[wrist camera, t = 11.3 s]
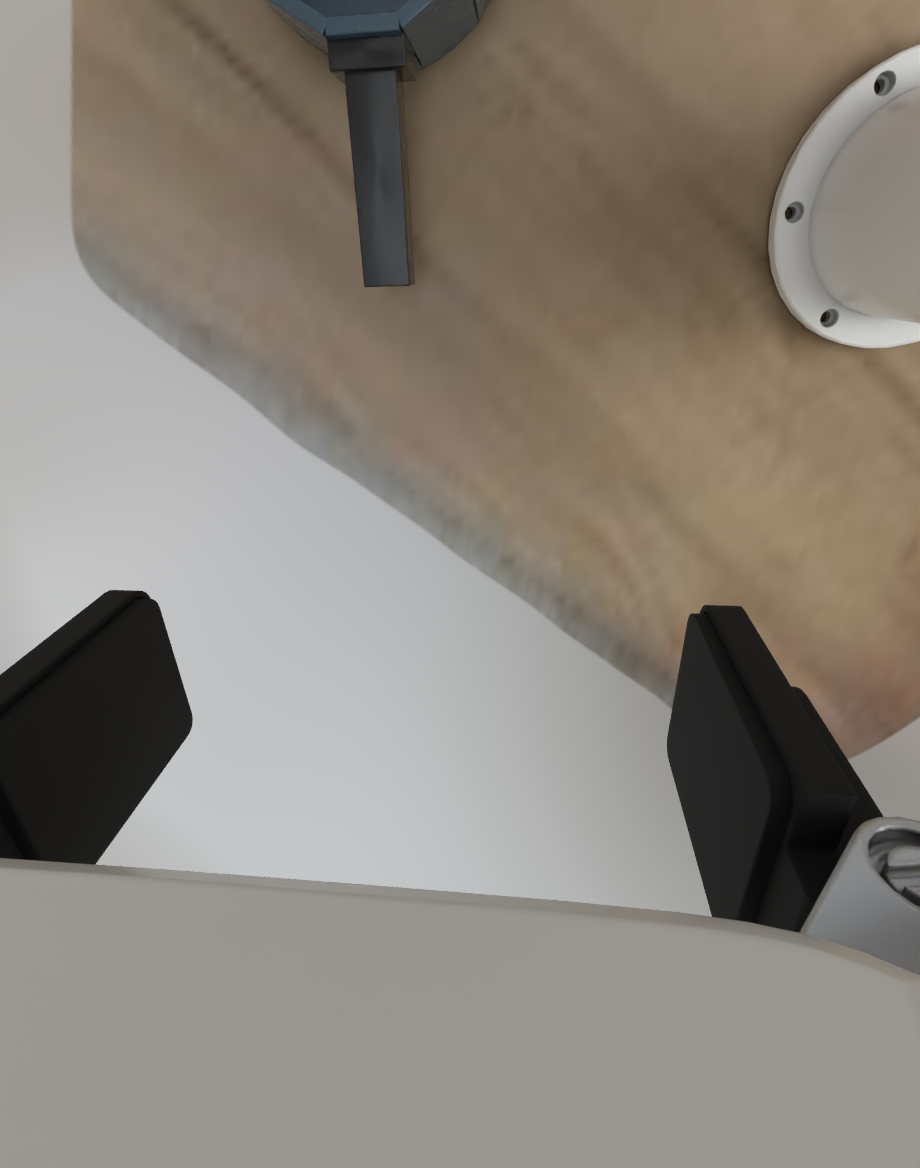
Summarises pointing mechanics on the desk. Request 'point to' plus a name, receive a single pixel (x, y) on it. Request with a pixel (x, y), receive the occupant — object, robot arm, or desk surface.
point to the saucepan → (381, 103)
